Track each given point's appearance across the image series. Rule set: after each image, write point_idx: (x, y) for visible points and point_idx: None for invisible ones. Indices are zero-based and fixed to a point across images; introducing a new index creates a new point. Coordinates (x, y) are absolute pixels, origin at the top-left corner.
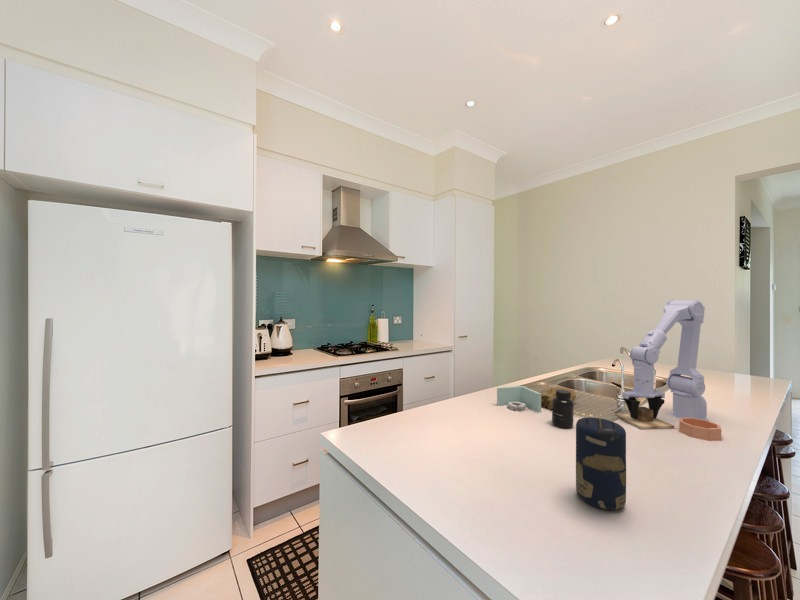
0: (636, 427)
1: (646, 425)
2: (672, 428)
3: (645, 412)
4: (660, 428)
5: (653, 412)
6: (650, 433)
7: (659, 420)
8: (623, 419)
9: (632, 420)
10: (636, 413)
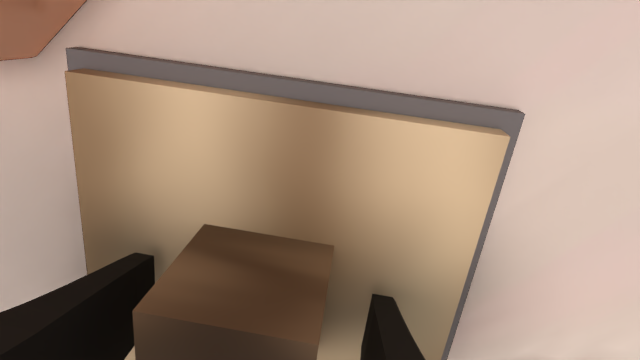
0: (505, 175)
1: (399, 149)
2: (110, 63)
3: (274, 313)
4: (250, 91)
5: (111, 314)
6: (473, 26)
7: (106, 234)
8: (436, 356)
9: (405, 301)
10: (398, 339)
